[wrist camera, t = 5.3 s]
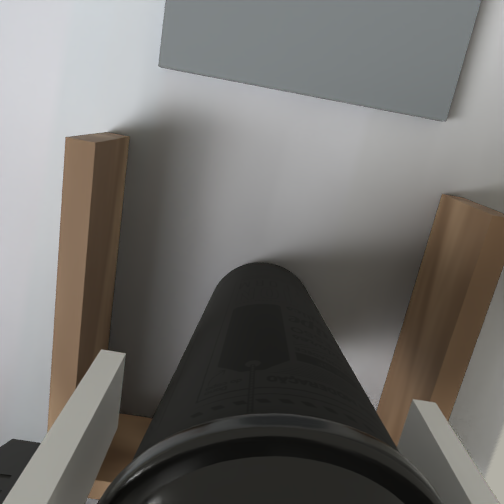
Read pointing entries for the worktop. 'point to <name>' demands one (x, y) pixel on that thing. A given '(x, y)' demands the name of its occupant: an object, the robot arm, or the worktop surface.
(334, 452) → the drinking cup
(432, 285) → the open wooden frame
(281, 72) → the mat
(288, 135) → the worktop surface
